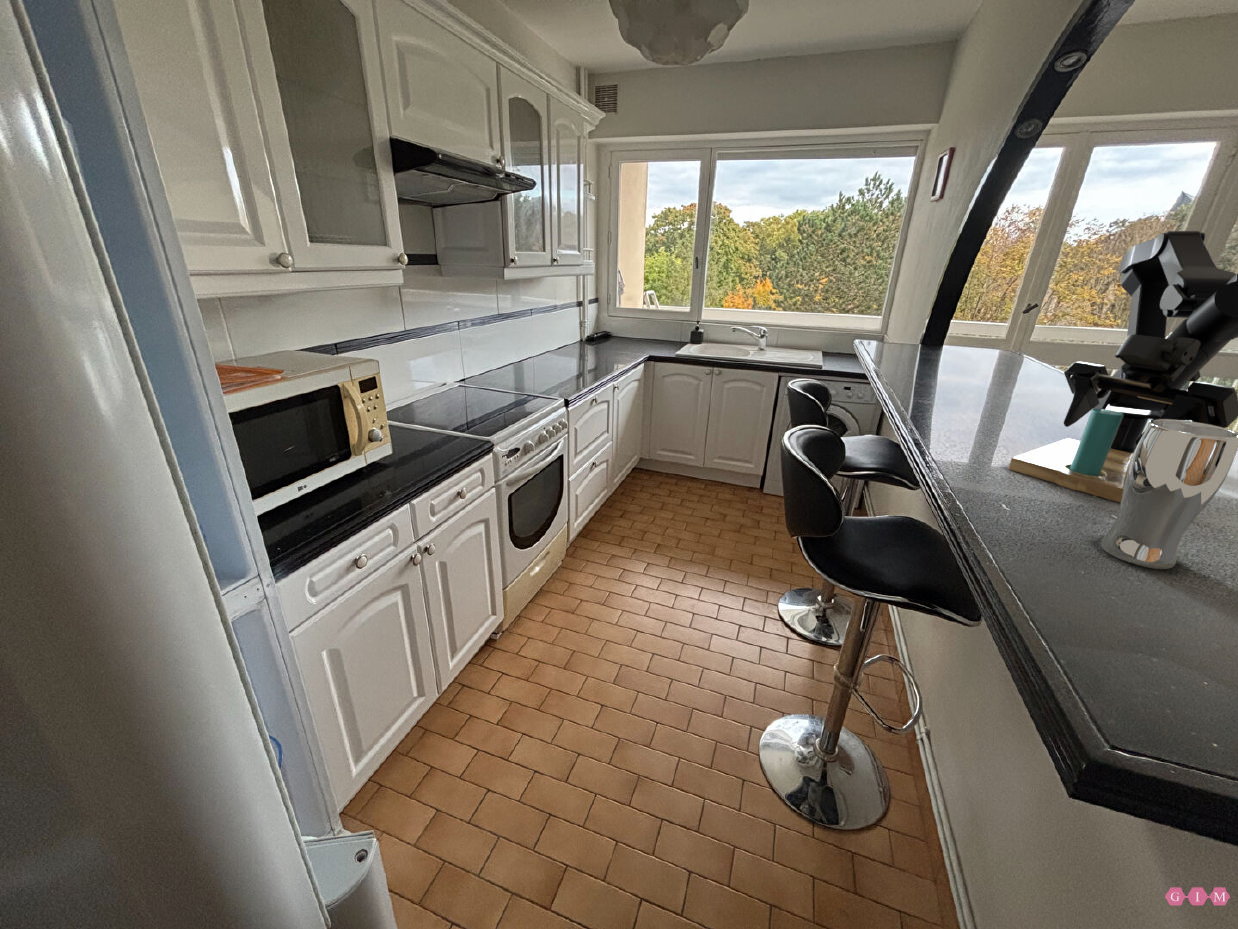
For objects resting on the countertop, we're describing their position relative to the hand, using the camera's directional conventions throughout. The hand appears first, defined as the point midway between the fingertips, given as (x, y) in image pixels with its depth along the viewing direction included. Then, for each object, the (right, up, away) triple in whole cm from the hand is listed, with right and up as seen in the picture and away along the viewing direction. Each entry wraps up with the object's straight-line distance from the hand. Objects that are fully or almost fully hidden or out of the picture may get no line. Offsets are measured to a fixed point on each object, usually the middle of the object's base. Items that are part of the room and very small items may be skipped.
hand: (1099, 434), depth 73 cm
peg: (0, -7, +3) cm, 8 cm away
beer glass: (-12, -15, -16) cm, 25 cm away
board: (+4, -6, +6) cm, 9 cm away
